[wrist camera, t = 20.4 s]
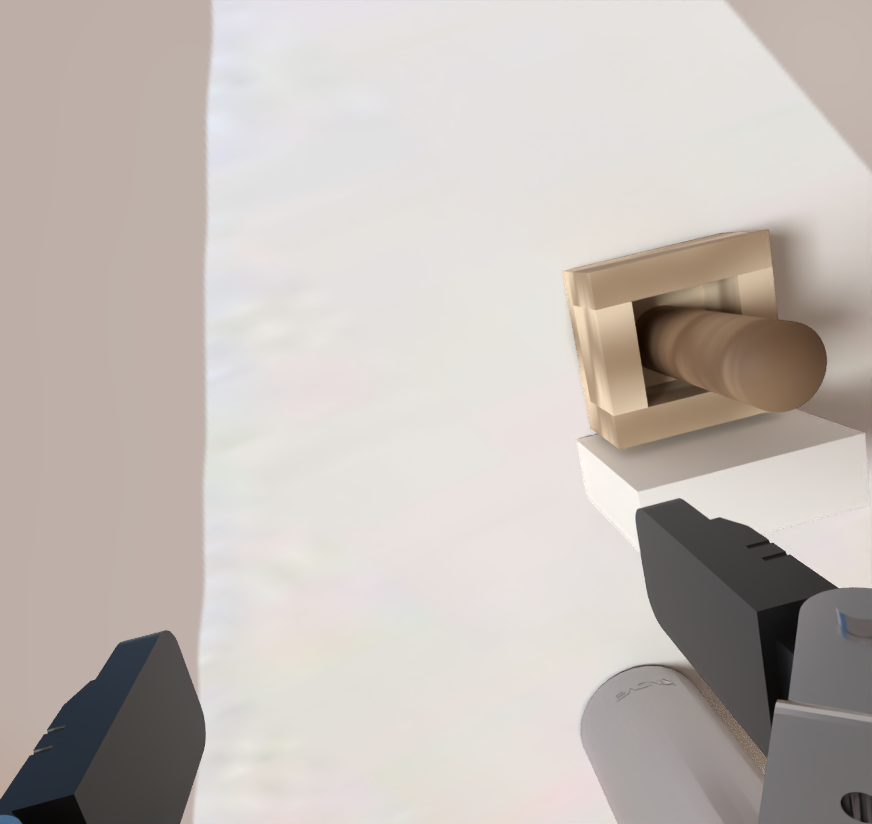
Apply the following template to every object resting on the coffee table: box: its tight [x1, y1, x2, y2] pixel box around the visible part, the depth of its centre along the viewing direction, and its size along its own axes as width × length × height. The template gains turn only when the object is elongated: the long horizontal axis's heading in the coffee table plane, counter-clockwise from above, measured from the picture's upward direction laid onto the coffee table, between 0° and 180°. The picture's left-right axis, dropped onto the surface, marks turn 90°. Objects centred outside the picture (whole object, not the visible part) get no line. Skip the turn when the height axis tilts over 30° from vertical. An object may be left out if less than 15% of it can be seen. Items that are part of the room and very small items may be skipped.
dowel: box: [635, 305, 827, 413], centre depth 35 cm, size 4×4×12 cm
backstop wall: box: [576, 409, 871, 554], centre depth 39 cm, size 4×12×10 cm, turn 103°
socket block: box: [562, 230, 778, 450], centre depth 39 cm, size 10×10×5 cm
